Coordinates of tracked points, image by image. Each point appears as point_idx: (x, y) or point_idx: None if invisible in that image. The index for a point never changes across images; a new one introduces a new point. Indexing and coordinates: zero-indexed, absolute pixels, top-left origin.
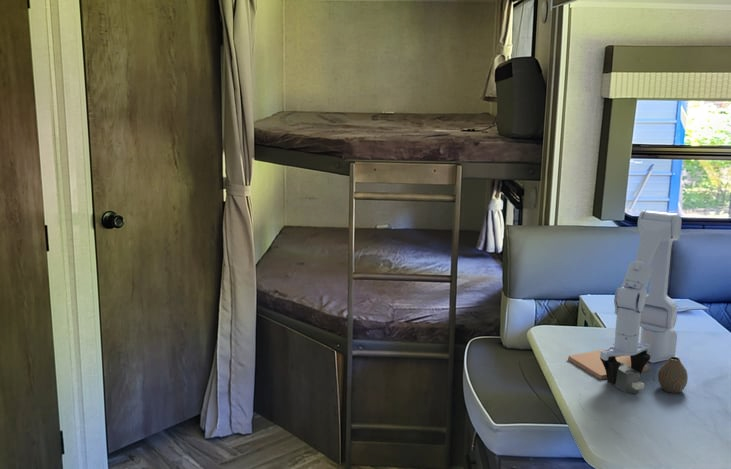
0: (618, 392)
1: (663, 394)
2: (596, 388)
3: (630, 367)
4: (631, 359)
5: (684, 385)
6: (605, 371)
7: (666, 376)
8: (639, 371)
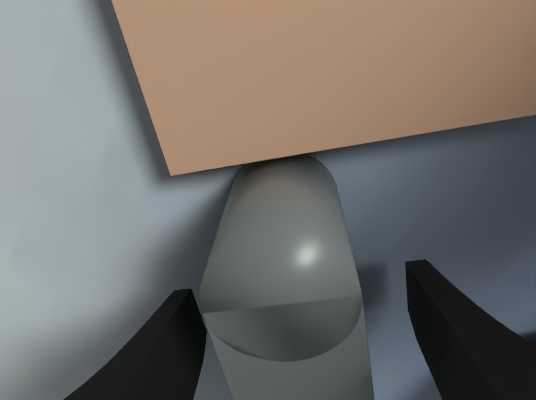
0: None
1: None
2: (99, 269)
3: (373, 395)
4: (474, 376)
5: None
6: (250, 104)
7: None
8: (440, 389)
